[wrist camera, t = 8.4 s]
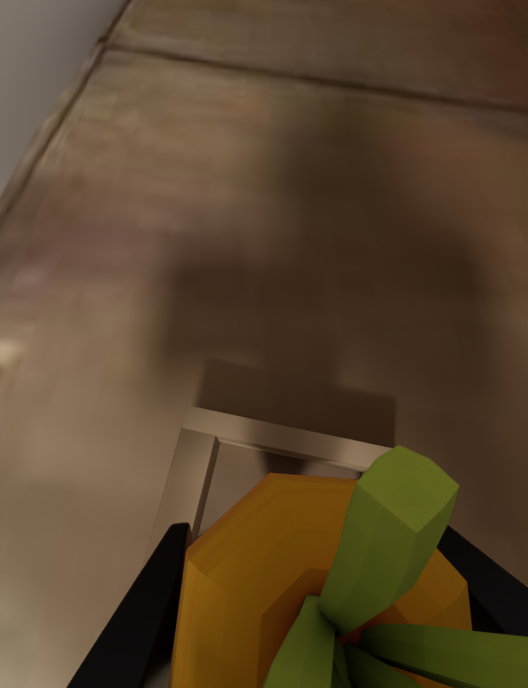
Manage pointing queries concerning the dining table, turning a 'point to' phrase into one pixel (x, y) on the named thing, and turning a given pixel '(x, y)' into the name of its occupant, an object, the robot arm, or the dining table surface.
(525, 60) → the dining table surface
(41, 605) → the dining table surface
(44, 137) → the dining table surface
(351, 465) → the open matchbox
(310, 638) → the carrot
